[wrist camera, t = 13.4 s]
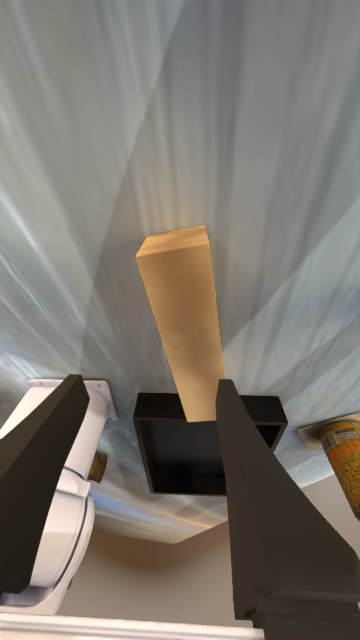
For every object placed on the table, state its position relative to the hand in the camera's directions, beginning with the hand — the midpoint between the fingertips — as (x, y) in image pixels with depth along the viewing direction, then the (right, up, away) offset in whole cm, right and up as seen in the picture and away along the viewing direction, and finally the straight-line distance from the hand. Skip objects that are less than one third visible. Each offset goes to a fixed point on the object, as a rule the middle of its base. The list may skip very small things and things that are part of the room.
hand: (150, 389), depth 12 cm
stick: (+3, +3, +10) cm, 11 cm away
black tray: (+5, -15, +22) cm, 27 cm away
